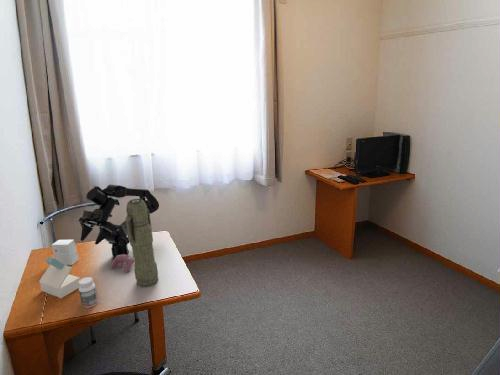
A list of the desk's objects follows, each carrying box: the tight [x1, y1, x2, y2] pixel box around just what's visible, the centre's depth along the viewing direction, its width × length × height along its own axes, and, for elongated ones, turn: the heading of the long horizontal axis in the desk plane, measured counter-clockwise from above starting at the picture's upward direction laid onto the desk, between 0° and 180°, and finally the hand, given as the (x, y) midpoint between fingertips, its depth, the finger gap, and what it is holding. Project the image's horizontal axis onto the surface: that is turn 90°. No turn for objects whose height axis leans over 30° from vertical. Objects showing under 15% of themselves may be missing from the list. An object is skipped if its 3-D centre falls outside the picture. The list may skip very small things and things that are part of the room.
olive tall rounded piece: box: [124, 198, 159, 288], centre depth 139 cm, size 9×12×35 cm
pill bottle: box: [78, 276, 99, 309], centre depth 130 cm, size 6×6×10 cm
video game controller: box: [110, 254, 135, 273], centre depth 156 cm, size 10×5×7 cm, turn 66°
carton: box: [39, 273, 81, 299], centre depth 142 cm, size 9×12×4 cm
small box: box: [51, 239, 79, 266], centre depth 162 cm, size 8×6×10 cm
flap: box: [38, 256, 73, 289], centre depth 137 cm, size 9×12×7 cm
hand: (88, 242), depth 151 cm, fingers open, 9 cm apart
